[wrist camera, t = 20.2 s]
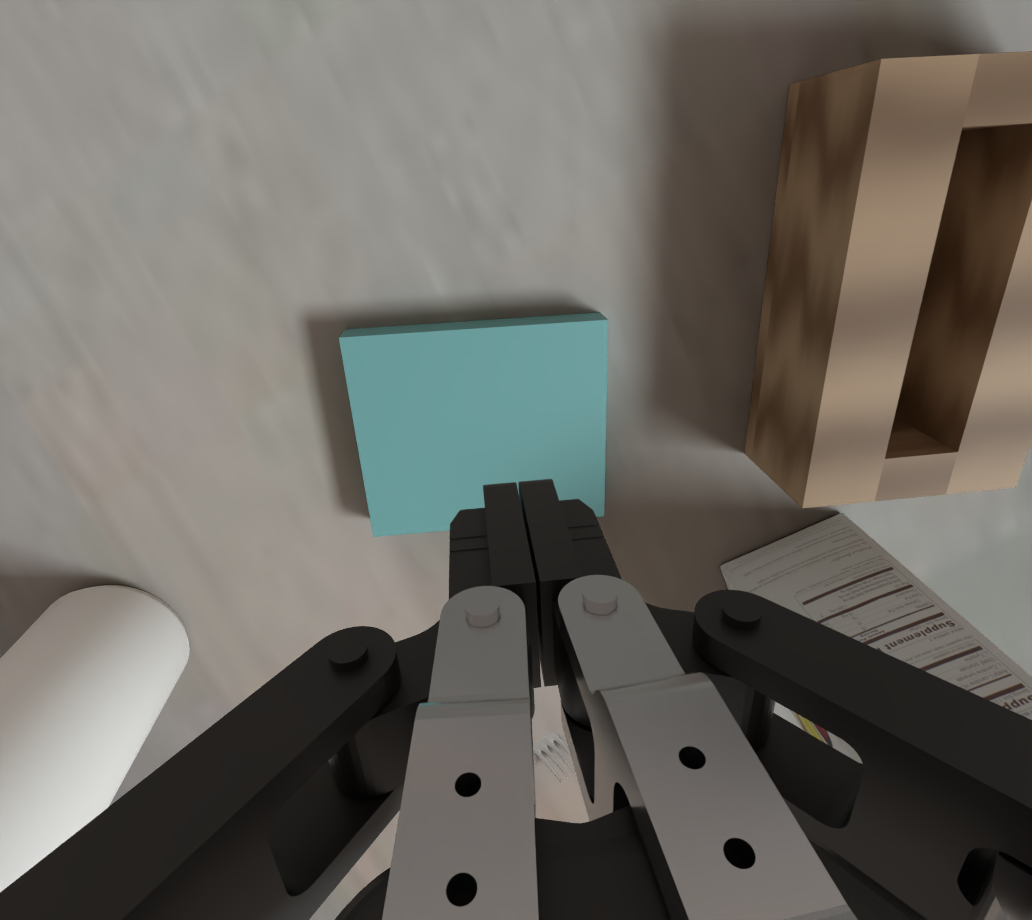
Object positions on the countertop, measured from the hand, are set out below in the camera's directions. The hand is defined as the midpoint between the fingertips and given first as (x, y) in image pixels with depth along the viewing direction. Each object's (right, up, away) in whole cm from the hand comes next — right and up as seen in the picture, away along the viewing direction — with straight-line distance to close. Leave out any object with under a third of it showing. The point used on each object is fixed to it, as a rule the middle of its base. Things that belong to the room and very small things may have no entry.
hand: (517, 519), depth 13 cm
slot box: (+20, +11, +21) cm, 31 cm away
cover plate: (+5, +4, +22) cm, 23 cm away
